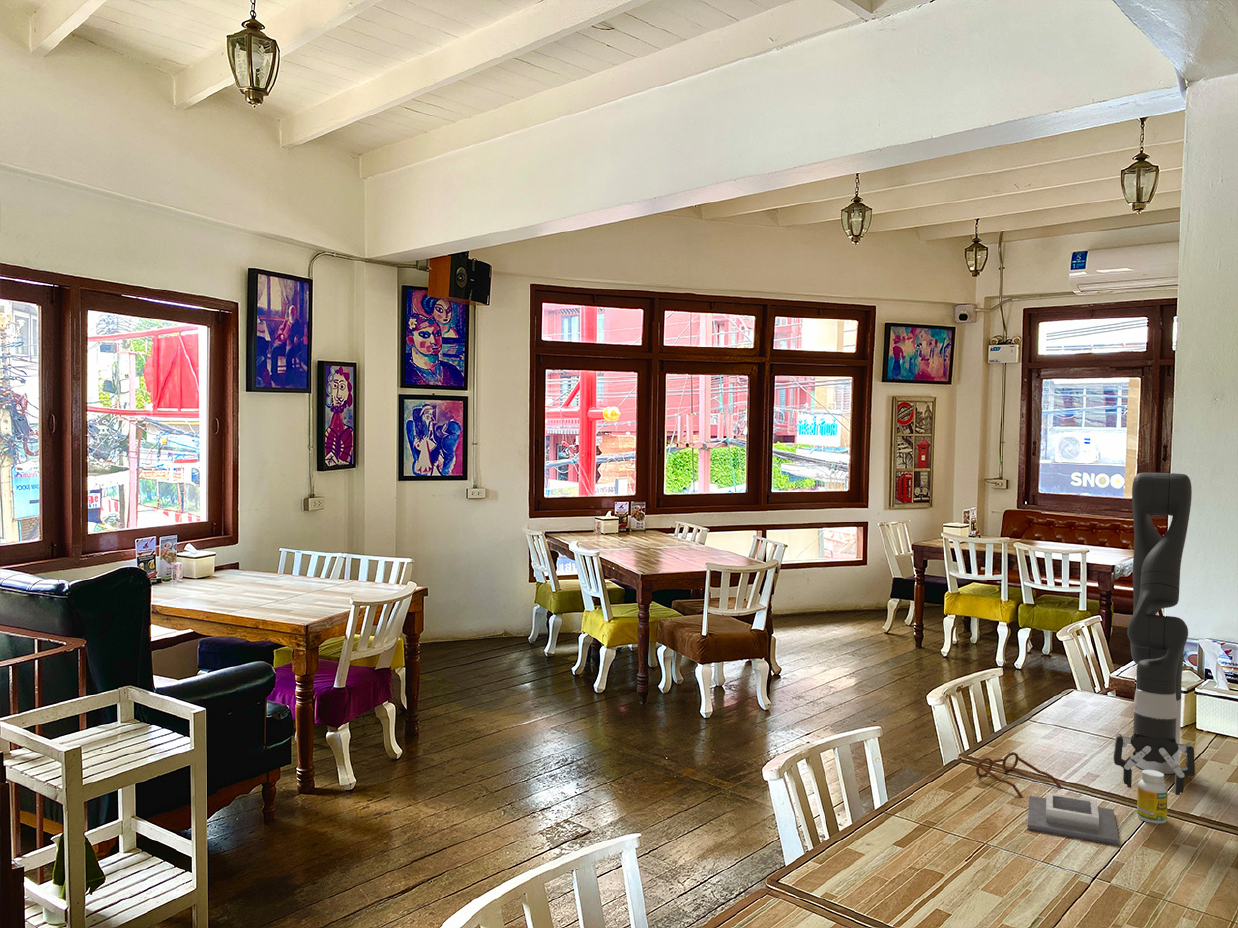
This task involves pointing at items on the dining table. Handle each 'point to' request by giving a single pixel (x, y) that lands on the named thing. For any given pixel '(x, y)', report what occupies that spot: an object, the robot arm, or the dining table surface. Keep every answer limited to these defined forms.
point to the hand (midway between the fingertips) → (1152, 790)
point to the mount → (1072, 818)
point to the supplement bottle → (1152, 797)
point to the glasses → (1009, 770)
